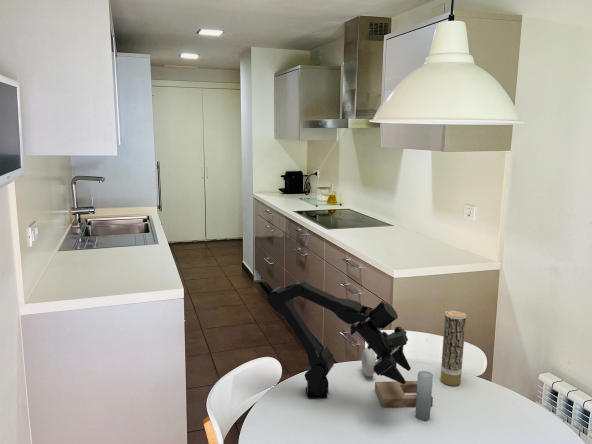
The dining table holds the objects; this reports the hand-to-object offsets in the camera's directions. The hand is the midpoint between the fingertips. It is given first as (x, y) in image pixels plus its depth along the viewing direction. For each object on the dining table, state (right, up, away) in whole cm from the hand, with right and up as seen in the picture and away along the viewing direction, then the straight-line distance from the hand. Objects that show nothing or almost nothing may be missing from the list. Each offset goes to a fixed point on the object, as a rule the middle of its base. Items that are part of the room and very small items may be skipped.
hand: (407, 376), depth 151 cm
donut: (-8, -8, +26) cm, 28 cm away
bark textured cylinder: (+20, -9, +22) cm, 31 cm away
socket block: (+1, -11, +11) cm, 15 cm away
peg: (+5, -13, 0) cm, 13 cm away
